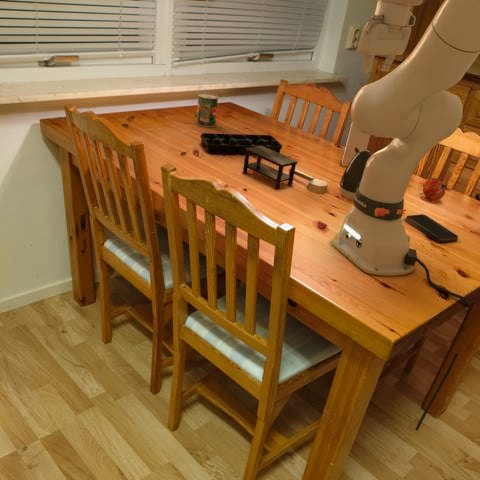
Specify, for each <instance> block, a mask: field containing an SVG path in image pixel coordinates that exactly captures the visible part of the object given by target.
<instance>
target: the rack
mask: <svg viewBox="0 0 480 480" xmlns="http://www.w3.org/2000/svg"><path fill="white" fill-rule="evenodd" d="M245 151H246V153H245V155H244V160H243V168H242V169H243V170H242V173H243V174H244V175H246V174H248V170H251V171H252V172H255V173H257V174H259V175H261V176H263V177H265V178H267V179H269V180H272V181H274V182H275V186H274V189H275V190H280V188H281V183H284V182H287V186H289V187H292V186H293V182H294V178H295V174H294V172H295V169H296V166H297V165H298V160H296V159H293V158H292V157H288V156H286V155H284V154H282V153H281V152H280V153H277V152H275V151H273V150H270V149H268V148H266V147H263V146H261V145H260V146H255V147H250V148H245ZM250 155H253V156H255V157H256V161H254V162H253V161H252V162H250V163H249V161H250ZM262 160H263V161H266V162H269V163H271V164H273V165H275V166H277V167H278V169H277V168H274V167H272V166H270V165H269V164H266V163H264V162H262ZM286 167H290V168H291V170H290V175H288V174H289V173H286V172H283V171H284V168H286Z"/></svg>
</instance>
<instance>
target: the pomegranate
mask: <svg viewBox="0 0 480 480" xmlns="http://www.w3.org/2000/svg"><path fill="white" fill-rule="evenodd" d="M446 188H448V185H447V184H445V182H444V181H442V180H441V179H439V178H437V177H431V178H428V179H426V180H425V181H424V183H423V184H422V193H421V195H424V198H425V199H426V201H429V202H434V201H439V200H441V199H442V198H444V196H445V194H446Z"/></svg>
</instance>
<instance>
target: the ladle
mask: <svg viewBox="0 0 480 480" xmlns="http://www.w3.org/2000/svg"><path fill="white" fill-rule="evenodd" d="M290 170H291V167H289V170H288V173H287V174H288V175H290ZM294 176H297V177H300V178H302V179H303V180H306V181H309V182H308V186H307V190H308V191H310V192H312V193H315V194H325V193H326V192H327V189H328V185H329V183H328V182H327V181H325V180H323V179H320V178H315V177H314V176H312V175H309V174H307V173H304V172H302V171H300V170H298V169H296V168H295V172H294Z"/></svg>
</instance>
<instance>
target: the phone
mask: <svg viewBox="0 0 480 480" xmlns="http://www.w3.org/2000/svg"><path fill="white" fill-rule="evenodd" d="M405 222H407V223H408V224H410V225H411V226H413V227H414V228H416V229H417V230H418V231H420V232H421V233H423V234H424V235H426V236H427V237H429V238H430V239H432V241H434V242H436V243H438V244H443V243H444V244H445V243H451V242H456V241H457V242H458V239H459V236H458V235H457V234H456V233H454V232H453V231H452V230H450V229H448V228H447V227H446V226H443V225H442V224H441V223H439V222H437V221H436V220H434V219H433V218H431V217H430V216H428V215H427V214H423V213H421V214H412V215H411V214H410V215H406V217H405Z"/></svg>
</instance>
